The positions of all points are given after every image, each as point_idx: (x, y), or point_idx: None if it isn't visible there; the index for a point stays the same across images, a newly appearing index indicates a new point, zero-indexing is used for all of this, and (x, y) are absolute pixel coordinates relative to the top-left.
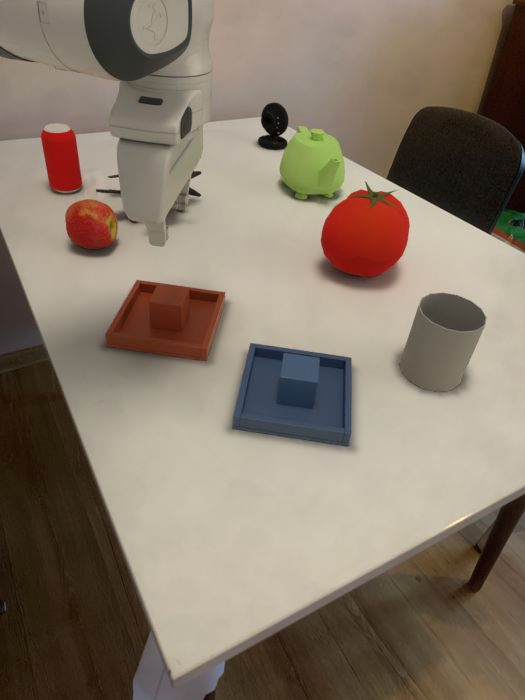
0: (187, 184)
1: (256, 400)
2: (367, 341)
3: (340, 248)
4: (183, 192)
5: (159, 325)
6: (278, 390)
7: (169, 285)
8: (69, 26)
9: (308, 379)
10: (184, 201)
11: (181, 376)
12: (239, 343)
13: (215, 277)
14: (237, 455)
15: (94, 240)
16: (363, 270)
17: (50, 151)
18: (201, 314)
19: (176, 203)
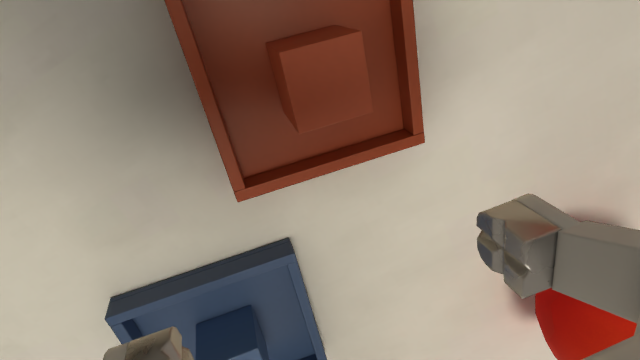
0: (606, 306)
1: (184, 302)
2: (392, 344)
3: (570, 305)
4: (559, 276)
5: (272, 66)
6: (196, 346)
7: (365, 63)
8: None
9: None
10: (506, 279)
11: (171, 172)
12: (309, 210)
13: (490, 72)
14: (65, 327)
15: None
16: (537, 312)
17: None
18: (355, 117)
19: (496, 240)
